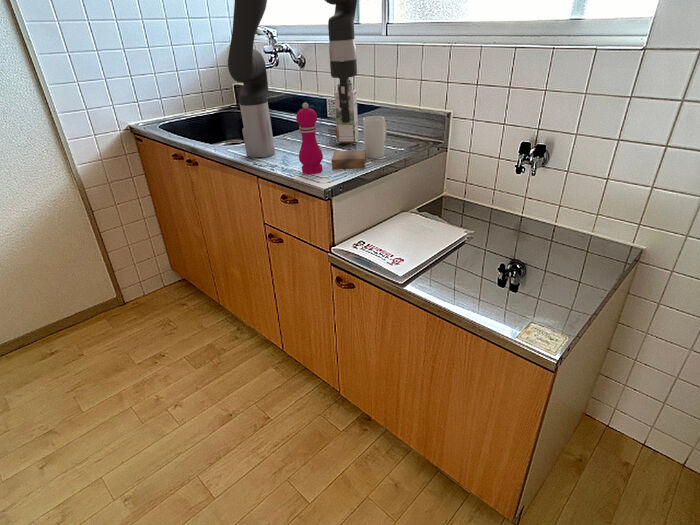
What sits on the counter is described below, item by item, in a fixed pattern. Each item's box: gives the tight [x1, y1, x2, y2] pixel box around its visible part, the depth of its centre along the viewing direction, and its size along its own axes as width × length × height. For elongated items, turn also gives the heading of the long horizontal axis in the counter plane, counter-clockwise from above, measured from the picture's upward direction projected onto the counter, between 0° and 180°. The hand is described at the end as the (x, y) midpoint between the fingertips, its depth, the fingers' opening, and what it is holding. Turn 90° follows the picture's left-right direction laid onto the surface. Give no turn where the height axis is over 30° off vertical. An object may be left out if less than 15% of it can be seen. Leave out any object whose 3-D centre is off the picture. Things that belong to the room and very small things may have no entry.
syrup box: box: [333, 88, 360, 143], centre depth 127 cm, size 6×6×14 cm
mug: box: [362, 115, 387, 160], centre depth 138 cm, size 10×7×12 cm, turn 141°
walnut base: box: [331, 149, 367, 171], centre depth 133 cm, size 10×10×3 cm
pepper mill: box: [296, 102, 324, 175], centre depth 125 cm, size 7×7×20 cm
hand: (346, 119), depth 127 cm, fingers closed on syrup box, 6 cm apart
